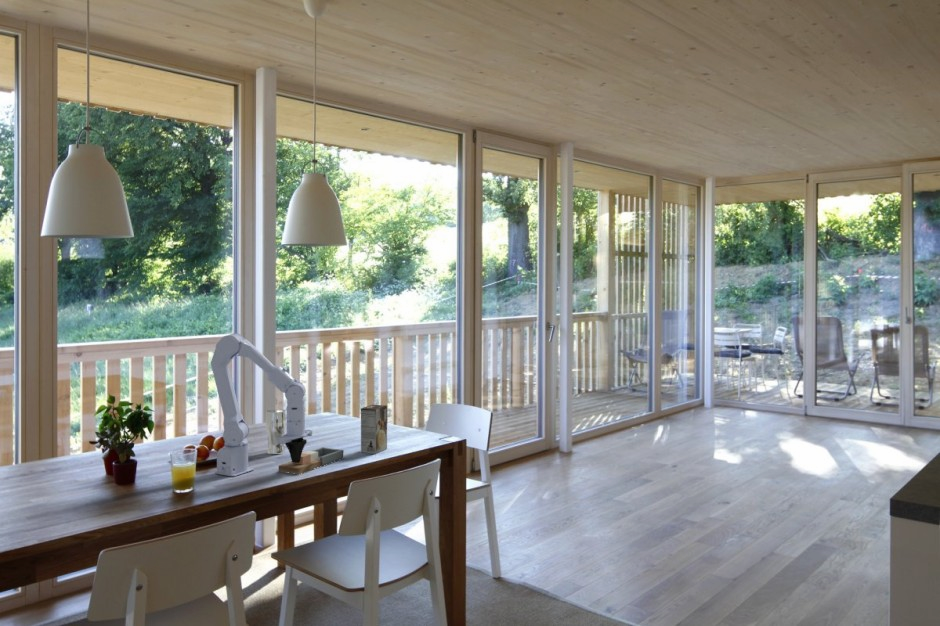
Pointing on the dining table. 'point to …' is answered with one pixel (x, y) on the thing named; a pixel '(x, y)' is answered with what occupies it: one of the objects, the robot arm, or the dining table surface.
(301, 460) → the tile terracotta
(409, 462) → the dining table surface
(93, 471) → the dining table surface
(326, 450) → the tray
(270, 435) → the beer glass
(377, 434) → the coffee box
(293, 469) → the board
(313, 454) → the tile cream
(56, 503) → the dining table surface
